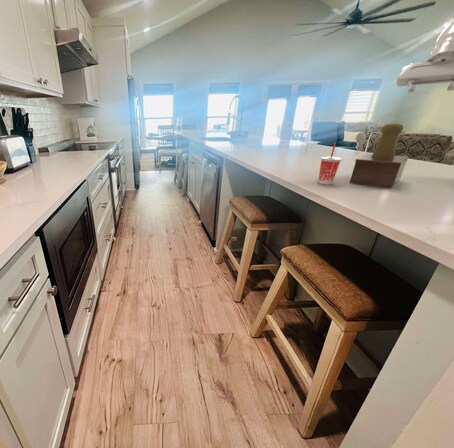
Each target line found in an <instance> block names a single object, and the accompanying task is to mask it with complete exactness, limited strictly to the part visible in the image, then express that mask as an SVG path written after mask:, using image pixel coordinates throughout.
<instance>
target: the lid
mask: <svg viewBox="0 0 454 448" xmlns="http://www.w3.org/2000/svg"><path fill="white" fill-rule="evenodd" d="M372 154H373V153H366V154H363V155H361V156H359V157H358V158H355V163H356V162H368V163H380V164H391V165H401V164H402V163H403V162H405V161H406V160H407V161H408V159H409V156H406V155H395V156H394V159H377V158H372Z"/></svg>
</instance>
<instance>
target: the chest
mask: <svg viewBox="0 0 454 448" xmlns="http://www.w3.org/2000/svg"><path fill="white" fill-rule="evenodd" d="M407 161H408V159H407V160H406V161H405V162H403V163H402V164H401V165H391V164H380V163H368V162H356V161H355V163H354V167H353V169H352V173H351V177H350V179H349V184H356V185H362V186H371V187H378V188H385V189H391V190H392V189H393V188H394V187H395V186H396V185H397V184H398V183H399V182H400V180H401V177H402V175H403V172H404V170H405V167H406V164H407Z"/></svg>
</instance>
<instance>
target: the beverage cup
mask: <svg viewBox="0 0 454 448" xmlns="http://www.w3.org/2000/svg"><path fill="white" fill-rule="evenodd" d="M335 148H336V142H334V143H333V147H332V150H331V154H330V156H322V157H320V166H319V172H318V178H317V183H318V184H321V185H332V184H334V180H335V177H336V176H337V175H336V174H337V172H338V169H339V165H340V163H341V162H342V159H343V158H341V157H338V156H334V152H335Z"/></svg>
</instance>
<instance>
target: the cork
mask: <svg viewBox="0 0 454 448" xmlns="http://www.w3.org/2000/svg"><path fill="white" fill-rule="evenodd" d="M403 131H404V126H403V124H401V123H388V124H385V125H383V126H382V128H381V132H380V133H381V136H380V138H379V139H378V142H377V144H376V146H375V148H374V150H373V151H372V152H373V153H371V154H372V158H377V159H394V156H396V151H397V145H398V140H399V135H400V134H401V133H402V132H403Z"/></svg>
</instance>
